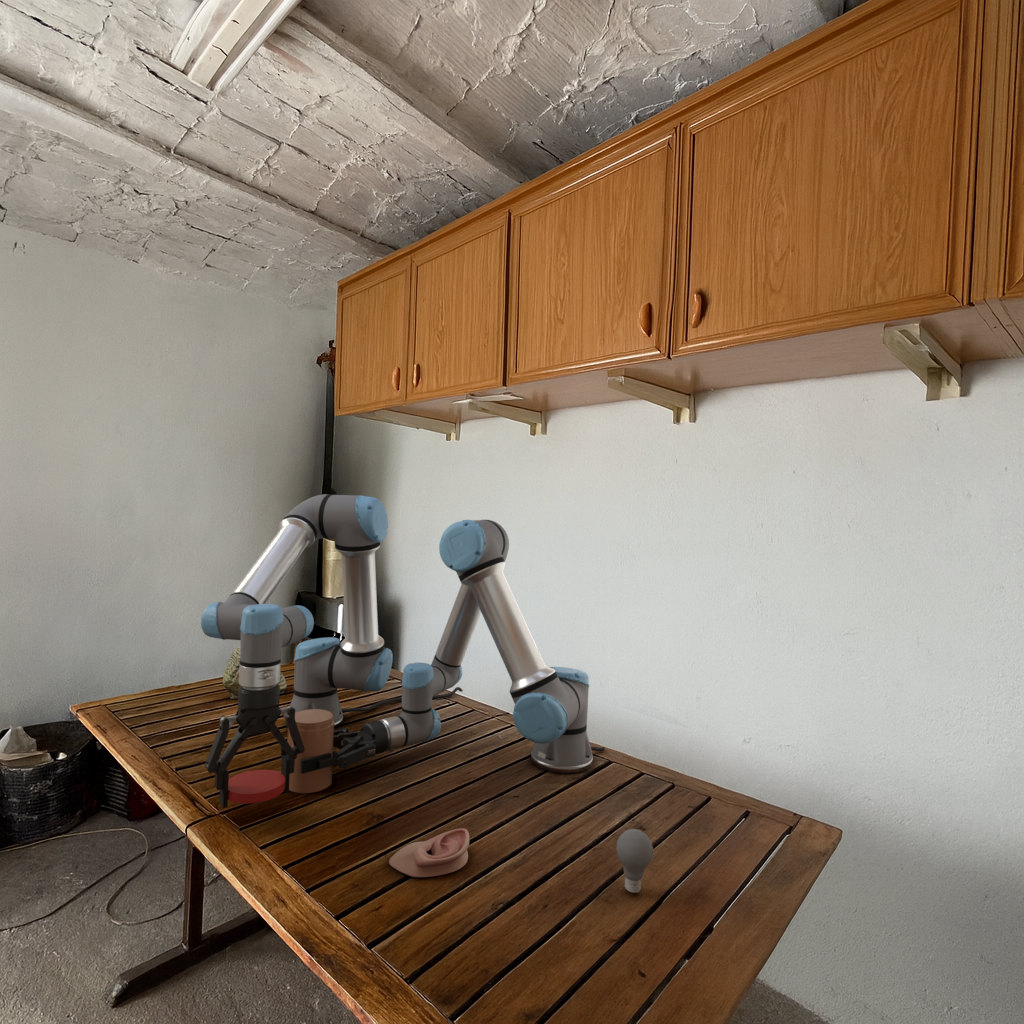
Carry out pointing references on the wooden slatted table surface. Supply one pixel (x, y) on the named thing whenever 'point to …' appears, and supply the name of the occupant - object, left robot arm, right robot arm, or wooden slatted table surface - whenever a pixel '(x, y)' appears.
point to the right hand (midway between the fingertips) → (291, 758)
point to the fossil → (233, 675)
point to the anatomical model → (433, 855)
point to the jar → (312, 749)
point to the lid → (255, 786)
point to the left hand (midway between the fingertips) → (254, 797)
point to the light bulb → (634, 857)
